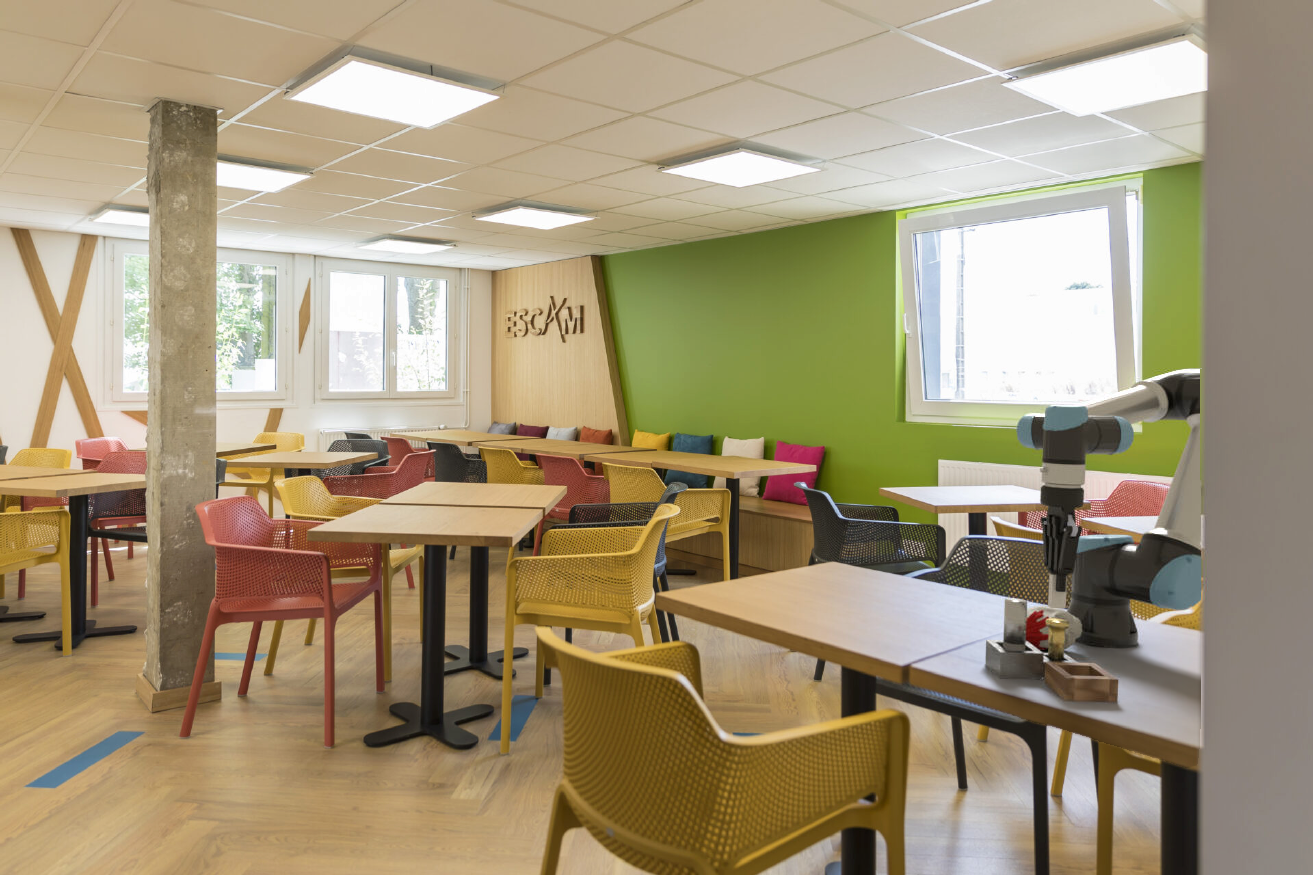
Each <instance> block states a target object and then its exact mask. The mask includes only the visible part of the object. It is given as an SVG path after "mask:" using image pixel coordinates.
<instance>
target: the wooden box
mask: <svg viewBox="0 0 1313 875" xmlns="http://www.w3.org/2000/svg"><path fill="white" fill-rule="evenodd" d="M1044 684H1045V685H1046V686H1047V687H1049V688H1050V689H1051V690H1052V691H1053V692H1055V693H1056V694H1057V695H1058V696H1060V697H1061V698H1062V699H1063V700H1064V701H1074V702H1075V701H1076V702H1077V701H1078V702H1107V703H1109V702H1112V703H1114V702H1115V703H1118V697H1119V696H1118V695H1119V679H1118V678H1117V677H1115V676H1114V675H1112V674H1111V673H1109V671H1107V670H1105V669H1103V668H1102V667H1100V666H1099V665H1098V664H1096V663H1095V662H1078V663H1068V662H1045V678H1044Z"/></svg>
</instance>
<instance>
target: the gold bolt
mask: <svg viewBox="0 0 1313 875" xmlns="http://www.w3.org/2000/svg"><path fill="white" fill-rule="evenodd" d="M1046 626H1048V627H1049V640H1048V649H1047V653H1048V657H1050V658H1054V659H1063V658H1064V653H1065V649H1064V642H1065V629H1067V628H1069V622H1068V621H1066V620H1062V619H1056V618H1049V619H1046Z"/></svg>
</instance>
